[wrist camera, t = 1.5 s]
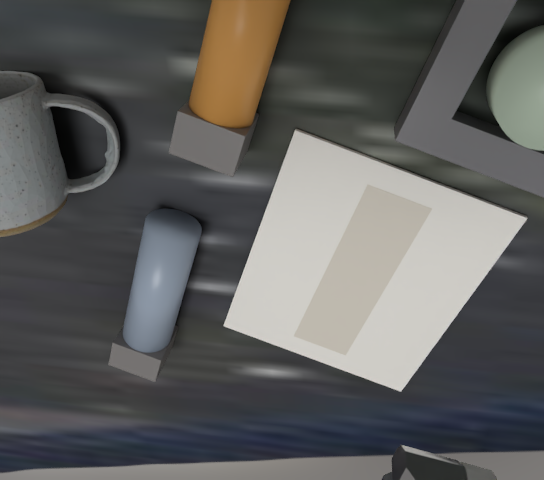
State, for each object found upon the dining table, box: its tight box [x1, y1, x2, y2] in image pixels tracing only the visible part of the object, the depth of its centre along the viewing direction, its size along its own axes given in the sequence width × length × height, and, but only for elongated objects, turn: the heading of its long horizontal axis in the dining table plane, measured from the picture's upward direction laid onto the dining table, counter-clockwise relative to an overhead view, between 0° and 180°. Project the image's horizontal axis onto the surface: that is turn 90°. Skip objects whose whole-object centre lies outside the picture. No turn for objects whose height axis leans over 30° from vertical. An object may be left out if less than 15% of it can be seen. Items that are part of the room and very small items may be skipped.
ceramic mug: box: [0, 71, 120, 237], centre depth 28 cm, size 10×8×7 cm
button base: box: [394, 0, 544, 197], centre depth 24 cm, size 10×10×2 cm
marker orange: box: [169, 0, 291, 177], centre depth 24 cm, size 12×4×4 cm, turn 163°
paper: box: [224, 129, 527, 391], centre depth 32 cm, size 16×14×1 cm
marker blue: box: [109, 209, 202, 382], centre depth 34 cm, size 12×4×4 cm, turn 162°
